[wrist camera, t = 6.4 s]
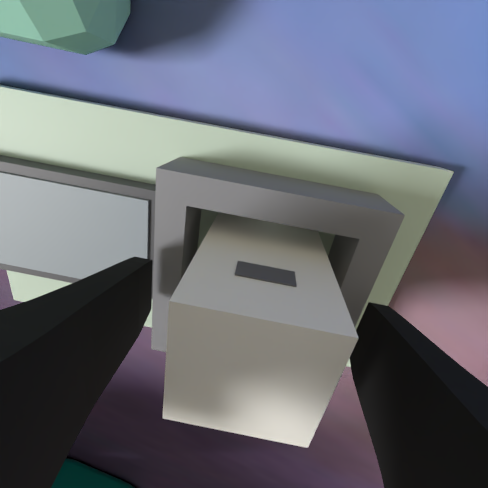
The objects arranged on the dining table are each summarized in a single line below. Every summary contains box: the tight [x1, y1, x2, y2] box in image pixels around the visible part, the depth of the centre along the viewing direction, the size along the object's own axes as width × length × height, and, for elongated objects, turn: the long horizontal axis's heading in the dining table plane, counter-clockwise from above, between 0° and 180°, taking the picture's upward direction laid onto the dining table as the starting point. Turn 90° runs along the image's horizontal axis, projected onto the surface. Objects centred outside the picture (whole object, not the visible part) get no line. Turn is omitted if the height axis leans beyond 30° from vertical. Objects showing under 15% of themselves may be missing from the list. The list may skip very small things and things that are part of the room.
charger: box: [163, 212, 359, 448], centre depth 9 cm, size 4×4×6 cm
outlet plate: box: [0, 85, 454, 367], centre depth 11 cm, size 10×18×3 cm, turn 81°
